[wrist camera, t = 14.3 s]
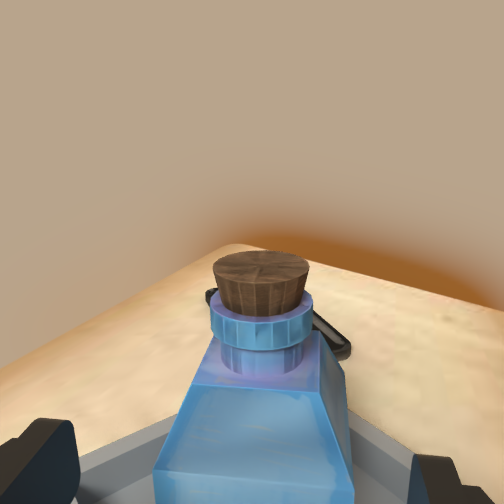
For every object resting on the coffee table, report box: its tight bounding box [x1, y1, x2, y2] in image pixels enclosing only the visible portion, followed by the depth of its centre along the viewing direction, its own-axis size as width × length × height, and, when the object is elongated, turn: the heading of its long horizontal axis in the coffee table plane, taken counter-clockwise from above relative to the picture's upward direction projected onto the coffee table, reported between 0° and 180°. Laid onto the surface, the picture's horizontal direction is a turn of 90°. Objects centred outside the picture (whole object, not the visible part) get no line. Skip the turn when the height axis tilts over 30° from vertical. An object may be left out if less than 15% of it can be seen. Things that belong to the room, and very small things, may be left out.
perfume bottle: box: [152, 250, 355, 504], centre depth 17 cm, size 6×6×12 cm
